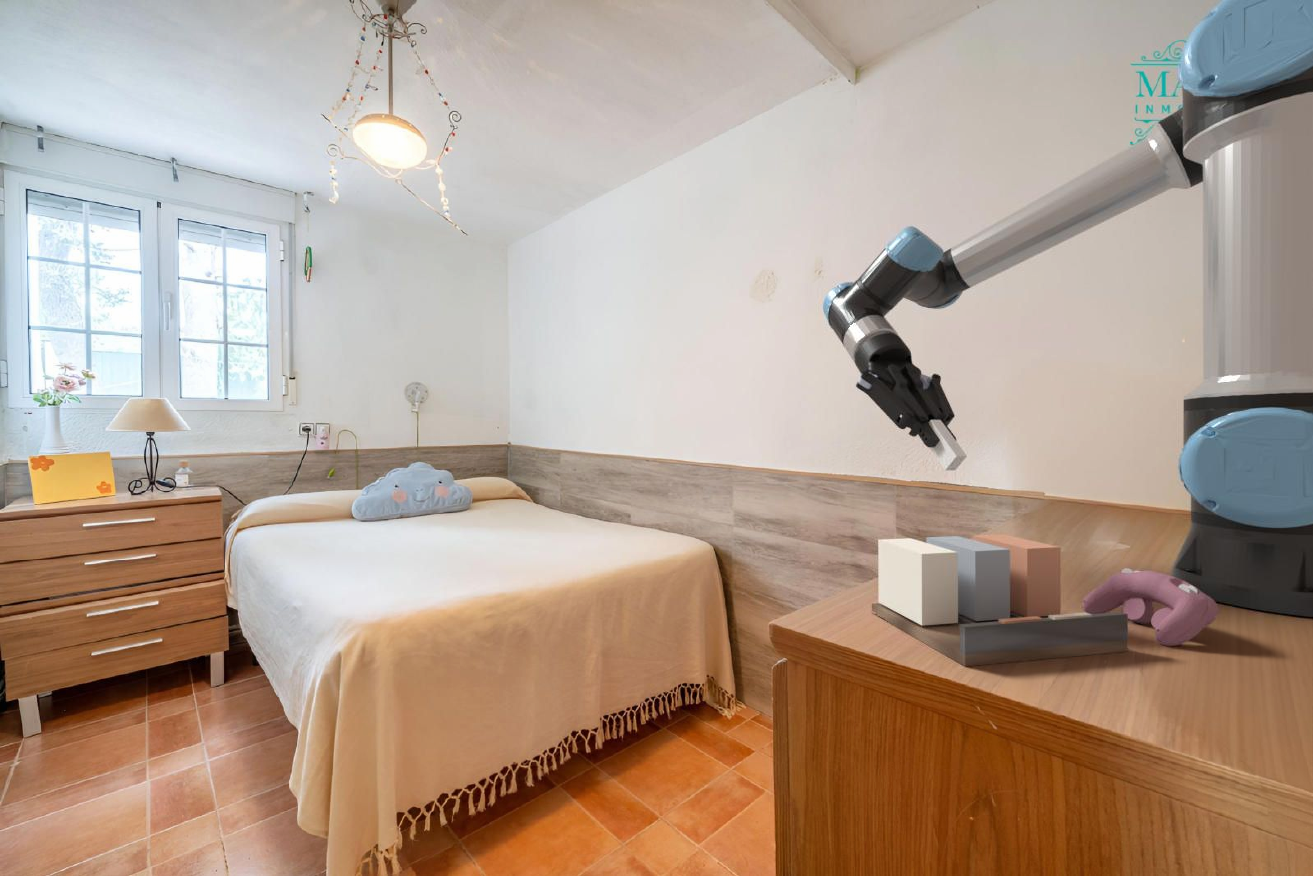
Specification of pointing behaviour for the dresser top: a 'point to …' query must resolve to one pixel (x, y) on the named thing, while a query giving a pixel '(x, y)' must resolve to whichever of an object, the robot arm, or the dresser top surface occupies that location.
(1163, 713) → the dresser top surface
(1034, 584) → the terracotta block
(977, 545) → the blue-grey block
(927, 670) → the dresser top surface
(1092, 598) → the video game controller
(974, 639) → the tray
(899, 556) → the cream white block
